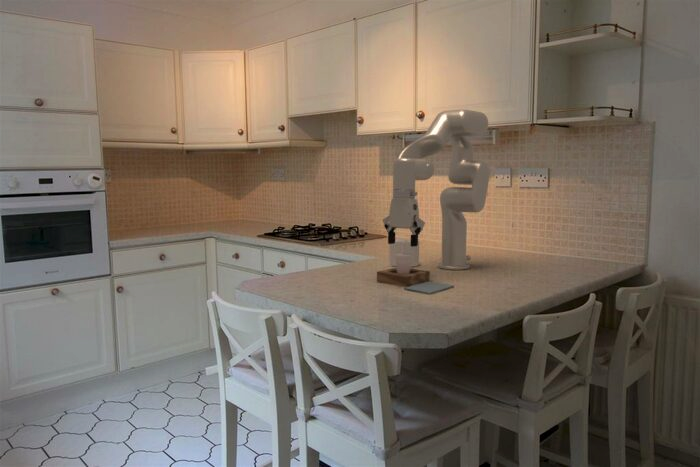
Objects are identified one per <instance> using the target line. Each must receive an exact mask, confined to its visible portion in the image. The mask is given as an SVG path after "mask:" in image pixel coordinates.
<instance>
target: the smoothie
mask: <svg viewBox="0 0 700 467" xmlns="http://www.w3.org/2000/svg"><path fill="white" fill-rule="evenodd" d="M394 257H395V260H396V266H395V268H396V269H397V273H398V274H404V275H407V274H410V268H411V269H412V267H411V260H412V257H413V254H411V253H403V242H401V253H395V254H394Z"/></svg>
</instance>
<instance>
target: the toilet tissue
mask: <svg viewBox="0 0 700 467" xmlns="http://www.w3.org/2000/svg"><path fill="white" fill-rule="evenodd" d="M401 242H403V253H411V254H413V257H412V260H411V268H414V267H418V266H419V265H420V240H419V239H418V246H414V247H411V238H398V239H397V238H395V243H394V244H389V259H388V260H389V262H388V266H392V267H396V260H395V257H394V254H395V253H401Z"/></svg>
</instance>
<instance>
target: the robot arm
mask: <svg viewBox="0 0 700 467" xmlns="http://www.w3.org/2000/svg"><path fill="white" fill-rule="evenodd" d="M488 129H489V119H488V116H487V115H486V114H485V113H484V112H481V111H476V110H470V109H453V110H443V111H441V112H439V113H438V114H437V115H436V116H435V118H434V119H433V121H432V122H431V124H430V126H429V127H428V128H427V131H425V134H424V135H423V136H421V137H419V138H418V139H417V140H414V141H413V142H412V143H411V144H409V145H407V146H406V147H405V148H404V149H403V150H402V151H401V152H400V153H399V155H398V157H397V158H395V159H394V161H393V170H392V171H393V176H392V198H391V200H390V204H389V205H390V206H389V212H388V215H387V216H386V217H384V218H383V219H382V223H383V225H384V228H385V230H386V232H387V243H388V245H390V244H394V243H395V240H396V232H395V230H396V229H404V230H405V229H406V230H409V231H410V232H411V235H410V239H411V247H414V246H418V240H419V235H420V233H422V231H423V230H424V227H425V224H426V222H425V221H424V220H422V219H421V218H420V211H419V204H418V199H416V197H417V196H418V192H417V191H416V181H427V180H429V179H431V178H432V177H433V175H434V173H435V166H434V164H433V162H432V161H431V160H430V159H428V158H427V157H430V156H433V155H435V154H438V153H440V152H442V151H443V150H444V149H445V147H446V145H447V143H448V142H449V141H450V143H451V157H450V163H449V168H448V176H447V177H448V181H449V182H450V183H452V184H454V185H459V186H460V185H461V186H462V185H463V186H462V187H461V186H460V187H459V186H454V187H453V186H450V187H447V188H445V189H443V190H442V191H441V193H440V195H439V203H440V208H441V210H440V211H441V262H438V263H437V267H438V268H439V269H444V270H452V271H457V270H458V271H459V270H462V271H463V270H468V269H470V268H471V267H470V266H471V265H470V264H469V263H468V262H467V261H470V260H471V258H472V257H471V255H467V233H468V232H467V230H468V226H467V225H468V223H467V219H466V218H465V216H464V213H471V214H472V213H475V214H477V213H480V212H481V211H483V209H484V207H485V205H486V201H487V194H488V189H489V182H490V177H491V176H490V167H489V164H488V163H487V162H486V161H484V160H480V159H474V154H475V148H474V145H473V143H472V142H471V140H470V139H469V137H470V136H471V137H472V136H482V135H484V134H485V133H486V132H487V131H488ZM468 136H469V137H468ZM464 185H466V186H469V185H470V186H471V187H464Z"/></svg>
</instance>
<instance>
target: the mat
mask: <svg viewBox="0 0 700 467" xmlns="http://www.w3.org/2000/svg"><path fill="white" fill-rule="evenodd" d="M450 288H451V289H453V288H455V285H454V284H448V283H447V284H446V283H443V282H442V283H440V282H435V281H428V282H425V283H421V284H417V285H413V286H410V287H404V288H403V290H405V291H409V292H413V293H418V294H424V295H433V294H436V293H437V294H438V293H439V292H444V291H448V290H450Z"/></svg>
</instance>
